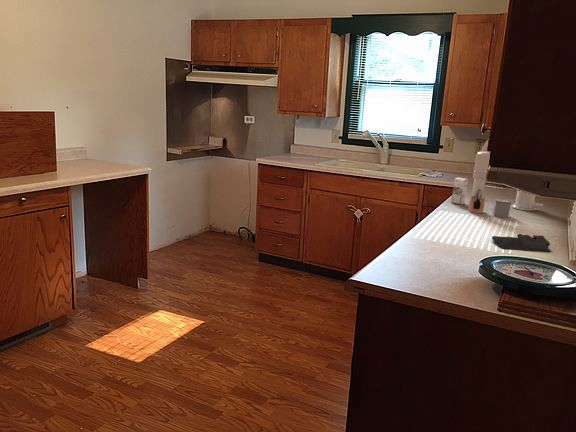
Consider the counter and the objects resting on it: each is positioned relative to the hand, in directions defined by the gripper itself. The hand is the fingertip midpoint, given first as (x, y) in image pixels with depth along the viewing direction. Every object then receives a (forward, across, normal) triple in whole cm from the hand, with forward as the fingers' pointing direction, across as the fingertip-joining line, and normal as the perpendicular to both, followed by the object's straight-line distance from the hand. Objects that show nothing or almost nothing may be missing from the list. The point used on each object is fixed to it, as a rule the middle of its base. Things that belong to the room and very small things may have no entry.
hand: (475, 207), depth 268 cm
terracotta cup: (+2, 0, 0) cm, 2 cm away
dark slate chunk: (+3, +61, +13) cm, 62 cm away
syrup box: (+2, -18, -8) cm, 20 cm away
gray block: (+2, +4, +12) cm, 13 cm away
